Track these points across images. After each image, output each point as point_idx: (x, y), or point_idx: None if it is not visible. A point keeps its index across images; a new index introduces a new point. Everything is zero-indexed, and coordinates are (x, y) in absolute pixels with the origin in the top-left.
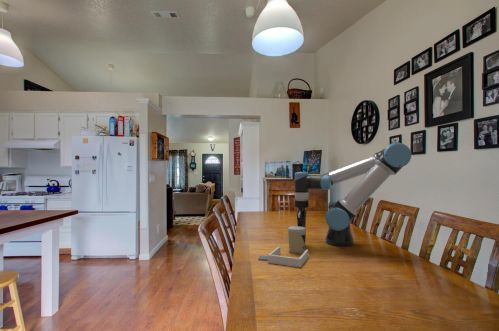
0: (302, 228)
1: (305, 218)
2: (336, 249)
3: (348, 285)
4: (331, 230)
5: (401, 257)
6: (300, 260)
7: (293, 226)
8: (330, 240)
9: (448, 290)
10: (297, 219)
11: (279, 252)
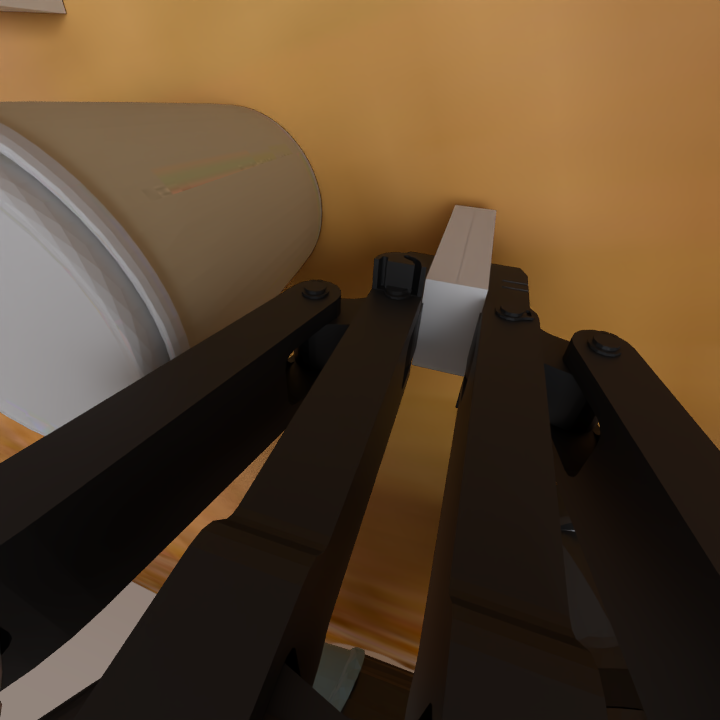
0: (52, 410)
1: (673, 716)
2: (419, 485)
3: (10, 420)
4: (610, 638)
5: (370, 626)
6: None
7: (38, 243)
8: (560, 518)
9: (159, 574)
10: (3, 475)
11: (13, 9)
